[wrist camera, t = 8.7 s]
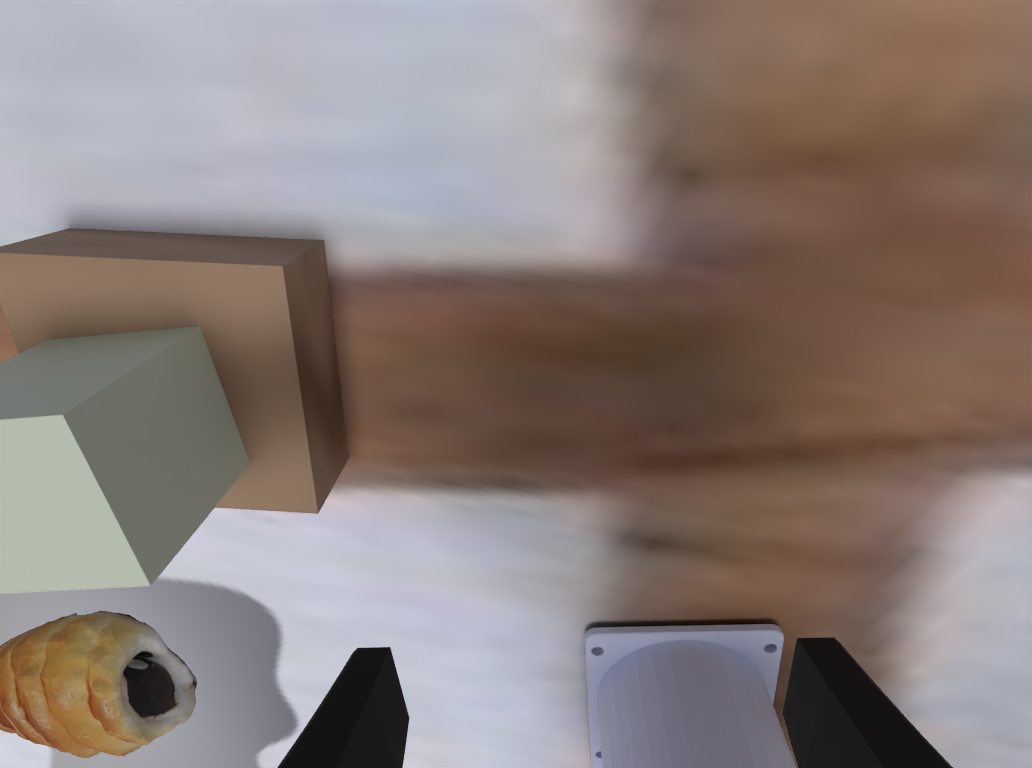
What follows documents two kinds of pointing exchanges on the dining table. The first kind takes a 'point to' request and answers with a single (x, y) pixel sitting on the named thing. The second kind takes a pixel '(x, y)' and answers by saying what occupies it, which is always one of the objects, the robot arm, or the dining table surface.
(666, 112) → the dining table surface
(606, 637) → the robot arm
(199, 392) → the green block
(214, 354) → the base block
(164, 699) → the pastry
